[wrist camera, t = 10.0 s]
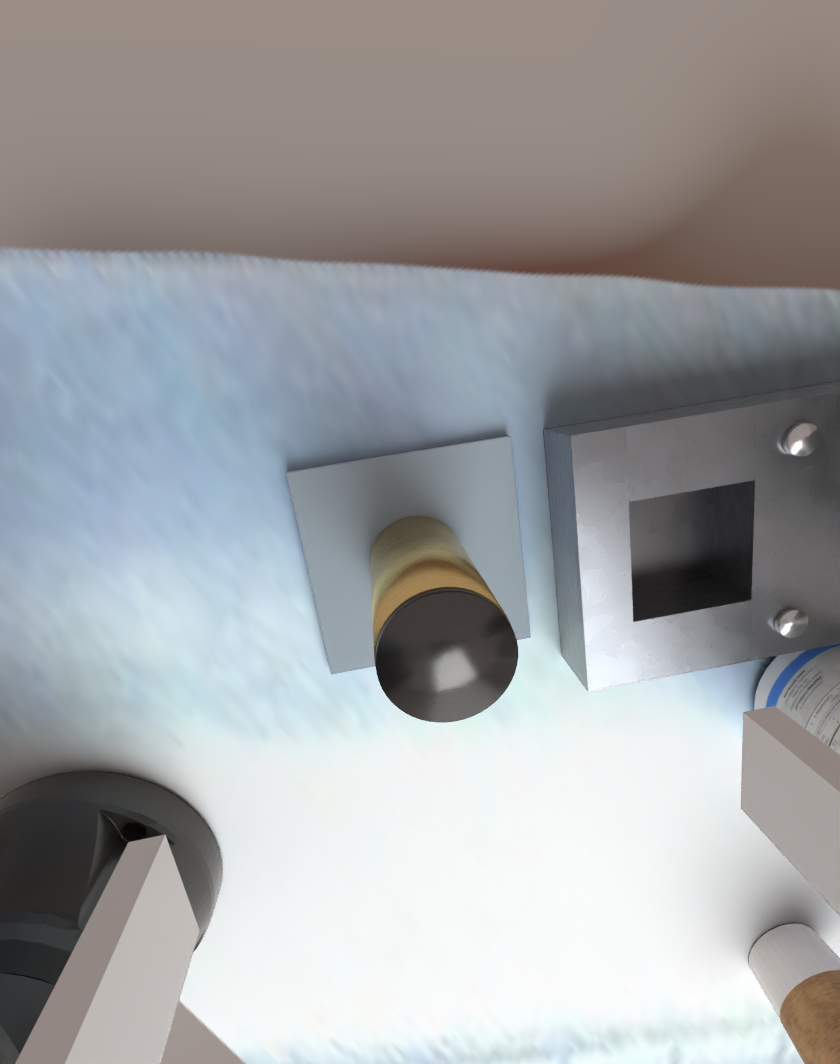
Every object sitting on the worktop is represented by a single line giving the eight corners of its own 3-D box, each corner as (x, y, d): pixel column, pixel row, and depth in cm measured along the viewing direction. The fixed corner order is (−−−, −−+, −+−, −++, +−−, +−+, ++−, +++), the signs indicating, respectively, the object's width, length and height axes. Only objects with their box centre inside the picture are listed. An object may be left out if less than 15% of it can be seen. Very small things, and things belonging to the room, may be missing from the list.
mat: (331, 669, 31) (331, 674, 30) (287, 471, 27) (286, 473, 27) (527, 632, 31) (530, 637, 31) (507, 435, 28) (510, 436, 28)
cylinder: (377, 610, 29) (386, 735, 19) (363, 523, 28) (363, 605, 17) (466, 596, 30) (524, 709, 19) (457, 509, 28) (513, 580, 18)
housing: (561, 655, 32) (591, 695, 28) (543, 429, 28) (574, 436, 24) (863, 599, 33) (935, 629, 29) (885, 373, 29) (972, 370, 25)
